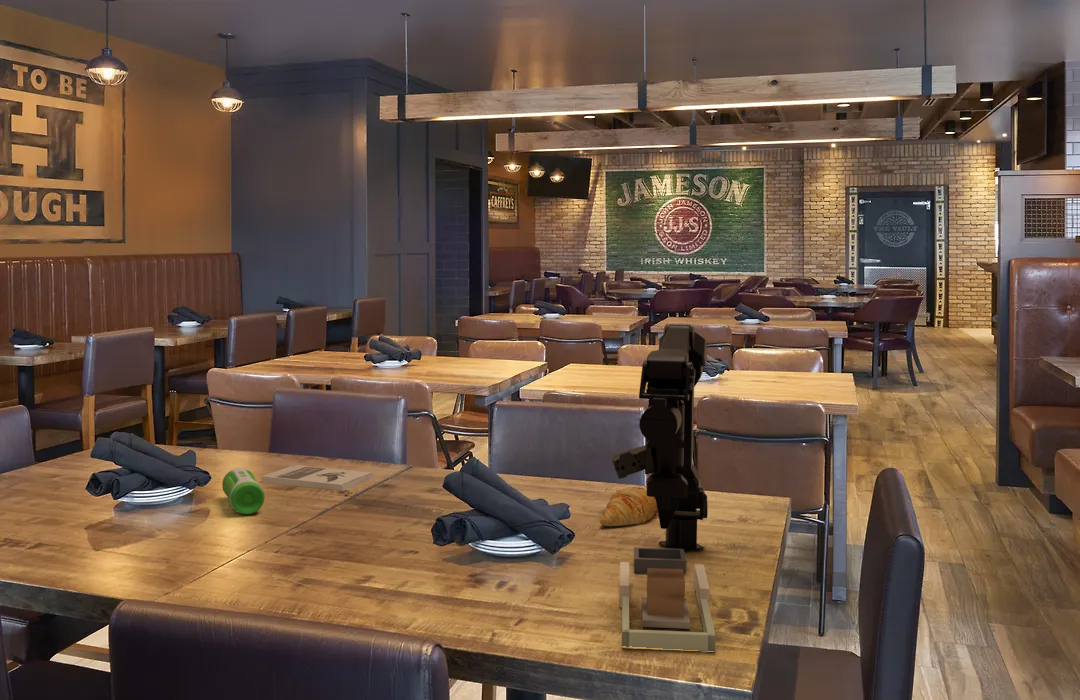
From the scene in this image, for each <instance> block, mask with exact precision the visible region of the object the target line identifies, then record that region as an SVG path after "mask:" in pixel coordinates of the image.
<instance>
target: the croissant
mask: <svg viewBox="0 0 1080 700" xmlns="http://www.w3.org/2000/svg"><path fill="white" fill-rule="evenodd" d="M656 511H658V510H657V504H656V499H655V498H654V497H649V496H647V493H646V488H643V487H640V486H639V487H637V486H630V487H627V488H622V489H619V490H617V491H616V492H613V494H612V495H611V497H610V498H609V500H608V502H607V504H606V506H605V508H604V509H603V512H602V515H600V516H599V517H600V518H599V522H600V524H601V525H602V526H604V527H621V526H622V527H623V526H624V527H625V526H633V525H634V524H635V525H640V524H644V523H645V522H648V521H649V520H650V519H652V518H653V517H654V514H655V513H657V512H656ZM647 520H648V521H647ZM635 525H634V526H635Z"/></svg>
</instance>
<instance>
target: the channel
mask: <svg viewBox="0 0 1080 700" xmlns="http://www.w3.org/2000/svg"><path fill="white" fill-rule="evenodd" d="M693 569H694V571H693V572H694V574H693V575H694V576H693V586H695V587H694V591H696V592H695V596H696V595H697V596H696V601H697V600H698V601H697V606H698V605H699V606H698V610H699V609H700V599H707V602H708V606H709V607H710V585H709V581H708V577H707V573H706V569H705V566H704V564H694V568H693ZM623 596H629V597H630V561H628V562H627V561H620V563H619V606H622V601H623Z"/></svg>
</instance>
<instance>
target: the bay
mask: <svg viewBox="0 0 1080 700" xmlns="http://www.w3.org/2000/svg"><path fill="white" fill-rule="evenodd" d="M621 608H622V609H621V610H622V611H621V612H622V617H621V621H622V623H621V647H622V646H626V647H629V646H632V647H646V648H663V649H683V650H698V651H715V652H716V632H715V628H714V627H715V626H714V624H713V619H712V616H711V610H710V605H709V606H708V602H707V599H700V610H699V616H700V615H701V617H700V621H701V620H702V622H701V626H702V625H703V627H702V632H701V631H700V632H699V631H682V630H681V631H677V630H676V631H675V630H652V629H648V630H647V629H631V628H630V595H629V596H623V601H622V607H621ZM703 630H704V632H703Z"/></svg>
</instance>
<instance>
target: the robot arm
mask: <svg viewBox="0 0 1080 700" xmlns="http://www.w3.org/2000/svg"><path fill="white" fill-rule="evenodd" d="M707 355H708V350H707V341H706V339H705V338H704V337H703V336H702V335H700V334H699V333H697V332H696V330H695V326H694V325H691V324H677V323H676V324H674V323H673V324H668V325H665V327H664V334H663V335H661V336H660V337H659V343H658V349H657V350H651V351H650V352H649V354H648V355H647V358H646V360H643V362H642V366H641V367H642V368H641V374H640V385H639V393H638V399H642V400H648V406H647V408H646V409H645V410H644V411H643V412H642V414H641V416H640V419H639V422H638V423H639V425H638V426H639V430H640V433H641V434H642V436H643V437H644V439H645V445H642V446H637V447H635V448H630V449H629V450H628V449H627V450H625V451H622V452H619V453H616V454H614V455H612V456H611V462H612V464H613V467H614V470H615V473H616V476H617V478H618V479H620V480H621V479H624V478H627V477H628V476H630V475H633V474H635V473H639V472H642V471H644V475H649V474H650V475H649V476H648V477H647V478H646V480H645V484H646V485H645V486H646V487H645V491H646V493H647V496H649V497H654V498H655V499H656V504H657V510H656V511H657V515H658V516H657V517H658V520H659V525H660V529H662V530H665V540H660V541H658V545H660V546H661V547H662V548H675V549H684V552H685V553H686V552H687V553H689V552H698V551H703V550H704V549H705V548H704V547H705V546H702V545H700V544H699V543H698V542H697V541H698V520H700V521H703V520H704V519H708V495H707V494H706V493H705V489H704V487H702V486H701V485H702V481H701V480H702V478H701V475H700V473H699V472H698V469H697V468H696V467H695V465H694V460H693V459H694V414H695V413H694V412H695V405H694V404H695V387H696V385H697V383H698V382H699V381H700V379H701V377H702V375H703V373H704V368H706V367H707V360H708V359H707V357H708V356H707Z"/></svg>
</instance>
